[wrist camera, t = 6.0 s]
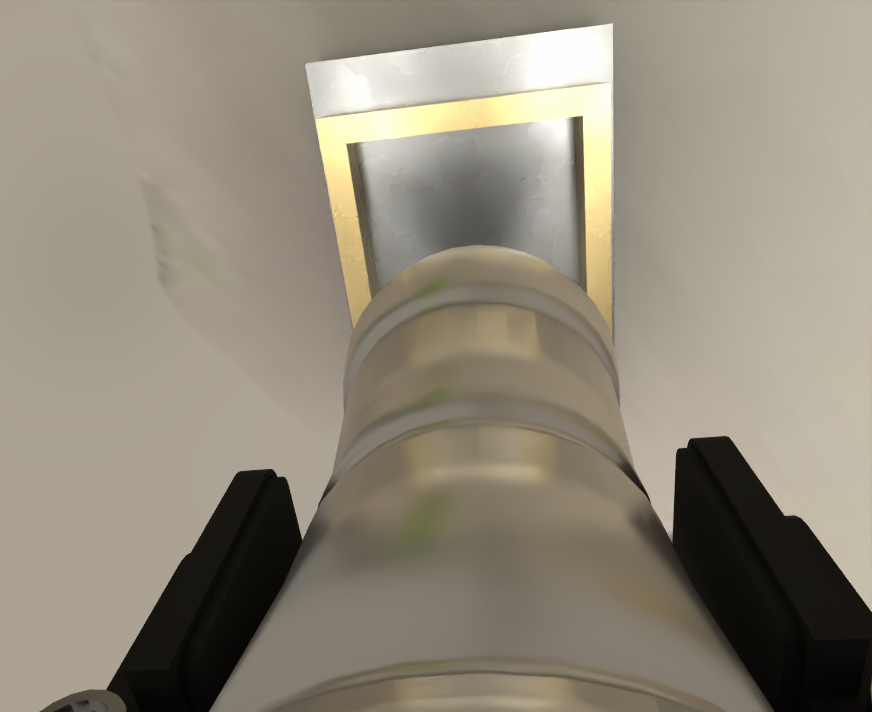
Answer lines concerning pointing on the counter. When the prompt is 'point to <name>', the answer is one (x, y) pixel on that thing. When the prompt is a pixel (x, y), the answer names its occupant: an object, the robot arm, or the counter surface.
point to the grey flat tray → (471, 156)
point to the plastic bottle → (486, 523)
